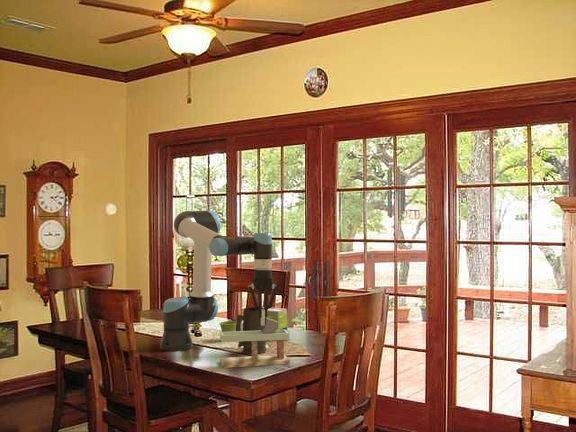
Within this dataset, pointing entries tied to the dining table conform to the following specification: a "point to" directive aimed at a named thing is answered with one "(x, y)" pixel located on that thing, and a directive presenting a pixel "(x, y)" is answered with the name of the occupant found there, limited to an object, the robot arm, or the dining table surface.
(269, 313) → the tea box
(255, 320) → the beer stein
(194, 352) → the dining table surface
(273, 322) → the block
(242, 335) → the beam
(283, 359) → the beam stand
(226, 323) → the plant pot
